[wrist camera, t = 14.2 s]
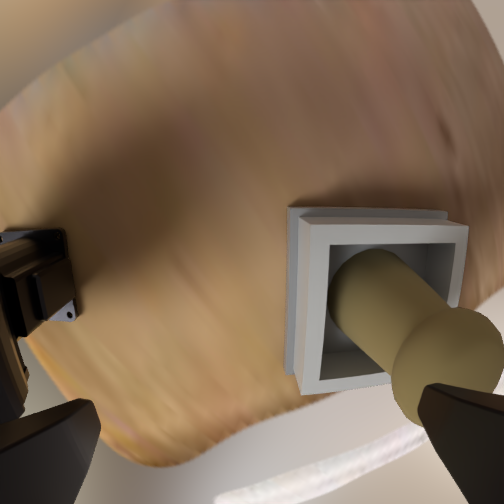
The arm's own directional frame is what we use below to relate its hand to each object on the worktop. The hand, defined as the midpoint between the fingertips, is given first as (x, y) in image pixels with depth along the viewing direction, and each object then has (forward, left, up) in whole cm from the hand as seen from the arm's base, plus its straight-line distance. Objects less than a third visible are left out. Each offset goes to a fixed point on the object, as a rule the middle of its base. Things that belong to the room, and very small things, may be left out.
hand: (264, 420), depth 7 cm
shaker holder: (+8, -2, -13) cm, 15 cm away
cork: (+8, -1, -12) cm, 15 cm away
